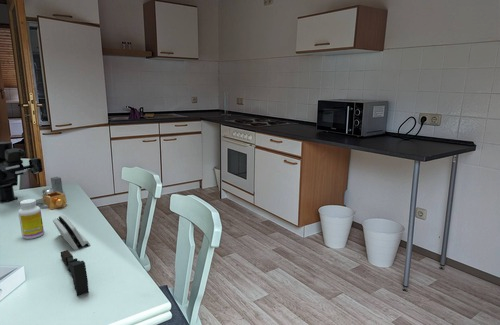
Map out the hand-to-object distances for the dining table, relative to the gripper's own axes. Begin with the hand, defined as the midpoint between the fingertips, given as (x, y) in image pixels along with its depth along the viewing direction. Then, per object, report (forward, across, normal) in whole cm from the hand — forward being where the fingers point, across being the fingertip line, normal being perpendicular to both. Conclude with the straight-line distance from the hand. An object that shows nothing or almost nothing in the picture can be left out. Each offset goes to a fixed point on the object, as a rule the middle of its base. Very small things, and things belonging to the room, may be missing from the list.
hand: (26, 173), depth 144 cm
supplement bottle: (+26, -11, +16) cm, 32 cm away
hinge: (+41, -5, +15) cm, 44 cm away
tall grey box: (-14, +17, +18) cm, 28 cm away
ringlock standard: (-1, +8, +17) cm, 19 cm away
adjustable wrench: (+63, -16, +14) cm, 66 cm away
